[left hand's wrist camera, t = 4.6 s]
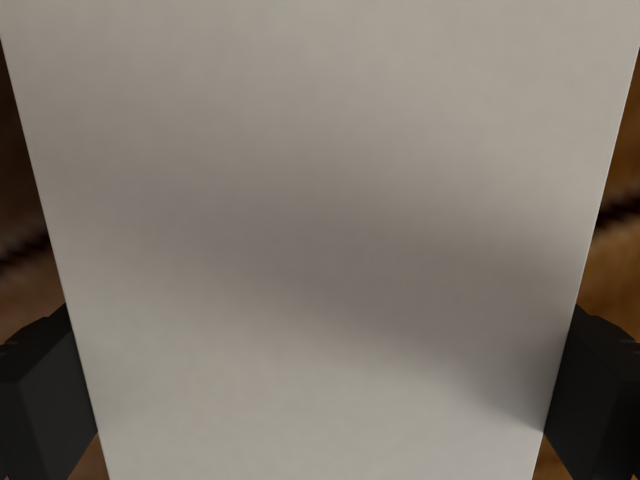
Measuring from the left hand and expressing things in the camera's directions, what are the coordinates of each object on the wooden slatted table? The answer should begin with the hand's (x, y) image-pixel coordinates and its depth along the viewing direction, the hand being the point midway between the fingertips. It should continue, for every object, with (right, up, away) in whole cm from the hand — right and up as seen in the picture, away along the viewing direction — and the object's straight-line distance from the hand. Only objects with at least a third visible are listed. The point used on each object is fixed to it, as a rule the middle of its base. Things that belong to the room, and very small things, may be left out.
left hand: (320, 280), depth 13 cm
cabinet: (0, +6, +2) cm, 6 cm away
